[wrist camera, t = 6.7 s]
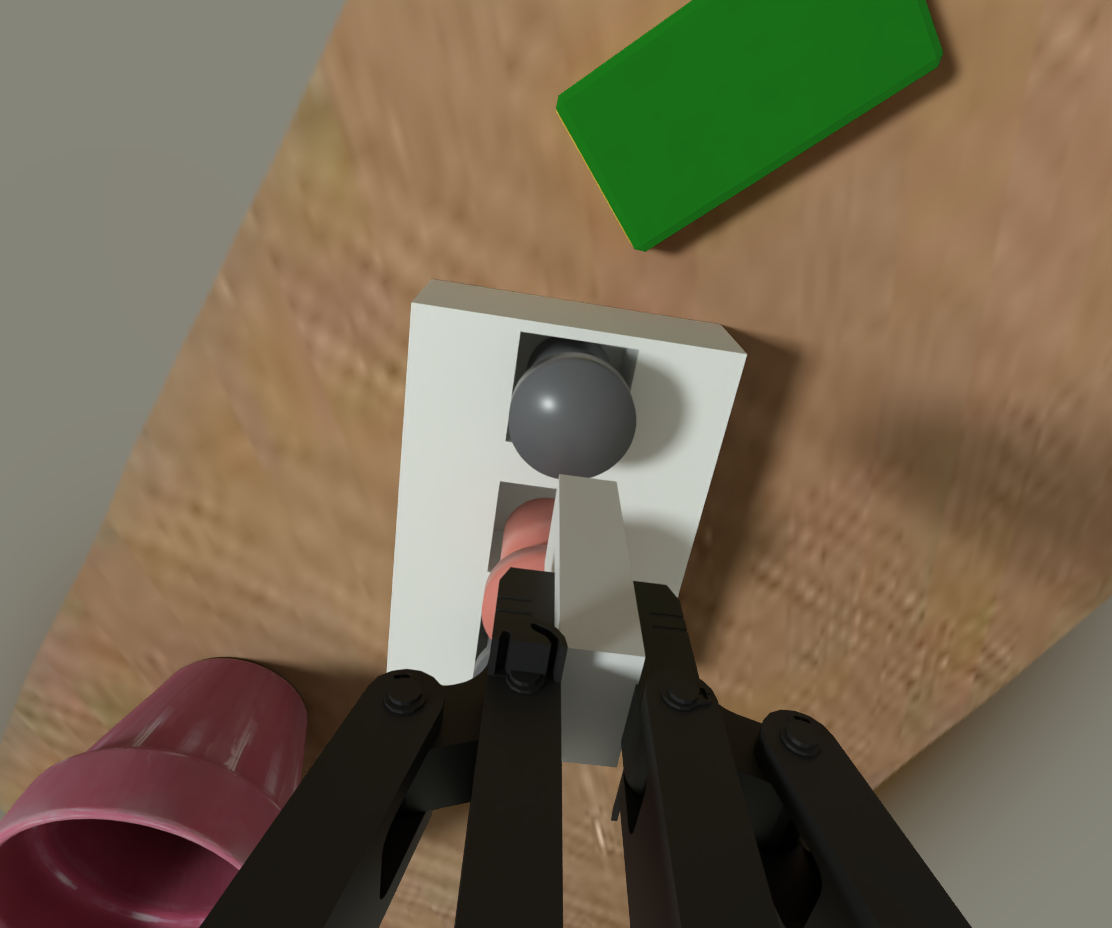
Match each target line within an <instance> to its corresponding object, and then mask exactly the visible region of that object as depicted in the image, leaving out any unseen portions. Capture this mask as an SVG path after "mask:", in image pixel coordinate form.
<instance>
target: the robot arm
mask: <svg viewBox="0 0 1112 928" xmlns="http://www.w3.org/2000/svg"><path fill="white" fill-rule="evenodd" d="M686 631H687V628H686V624H685V620H684V619H683V613H682V609H681V605H680V601H679V599H678V598H677V597H676V596H675V594H674V593H673V592H672V591H671V589H670V588H669V587H668V586H667V585H664V584H656V583H648V582H640V581H633V578H632V572H631V566H630V560H629V554H628V548H627V542H626V535H625V529H624V523H623V517H622V511H621V505H620V499H619V493H618V487H617V482H616V481H608V480H600V479H593V478H585V477H578V476H570V475H563V474H559V479H558V485H557V491H556V497H555V503H554V509H553V515H552V521H551V527H550V533H549V539H548V545H547V551H546V557H545V568H544V571H538V570H530V569H522V568H514V567H510V568H509V570H508V571H507V572H506V573H505V574H504V575H503V576H502V577H501V579H500V580H499V587H498V595H497V602H496V610H495V617H494V625H493V632H492V640H491V647H490V655H489V660H488V663H487V665H486V667H485V668H484V669H483V671H482V672H481V673H479V674H478V675H477V676H476V677H474V678H472V679H470V680H468V681H466V682H462V683H458V684H454V685H447V686H442V685H441V684H440V683H439V682H438V681H437V680H436V679H435V678H434V677H433V676H431V675H429V674H427V673H425V672H423V671H419V670H412V669H401V670H393V671H390V672H388V673H385V674H383V675H381V676H379V677H377V678H376V679H375V680H374V681H373V682H372V683H371V684H370V685H369V686H368V687H367V689H366V690H365V692H364V693H363V694H362V696H361V697H360V699H359V700H358V701H357V703H356V704H355V706H354V707H353V709H352V710H351V711H350V713H349V714H348V716H347V717H346V719H345V720H344V721H343V723H342V724H341V726H340V727H339V729H338V730H337V731H336V733H335V734H334V736H333V737H332V739H331V740H330V741H329V743H328V744H327V746H326V747H325V749H324V750H323V751H322V753H321V754H320V756H319V757H318V759H317V760H316V761H315V763H314V764H313V766H312V767H311V769H310V770H309V771H308V773H307V774H306V776H305V777H304V779H303V780H302V781H301V783H300V784H299V786H298V787H297V789H296V790H295V791H294V793H293V794H292V796H291V797H290V799H289V800H288V801H287V803H286V804H285V806H284V807H283V808H282V810H281V811H280V813H279V814H278V816H277V817H276V818H275V820H274V821H273V823H272V824H271V826H270V827H269V828H268V830H267V831H266V833H265V834H264V836H263V837H262V838H261V840H260V841H259V843H258V844H257V846H256V847H255V848H254V850H253V851H252V853H251V854H250V856H249V857H248V858H247V860H246V861H245V863H244V864H243V866H242V867H241V868H240V870H239V871H238V873H237V874H236V876H235V877H234V878H233V880H232V881H231V883H230V884H229V886H228V887H227V888H226V890H225V891H224V893H223V894H222V896H221V897H220V898H219V900H218V901H217V903H216V904H215V906H214V907H213V908H212V910H211V911H210V913H209V914H208V915H207V917H206V918H205V920H204V921H203V923H202V924H201V925H200V927H199V928H379V926H380V924H381V922H382V920H383V917H384V915H385V913H386V911H387V909H388V907H389V905H390V902H391V900H392V898H393V896H394V894H395V892H396V890H397V887H398V885H399V883H400V881H401V879H402V877H403V875H404V873H405V870H406V868H407V866H408V864H409V862H410V860H411V858H412V855H413V853H414V851H415V849H416V847H417V845H418V843H419V840H420V838H421V836H422V834H423V832H424V830H425V828H426V825H427V823H428V821H429V819H430V817H431V814H432V810H434V809H439V808H443V807H448V806H453V805H458V804H462V803H467V802H470V808H469V816H468V824H467V831H466V839H465V847H464V855H463V863H462V871H461V878H460V886H459V894H458V902H457V910H456V918H455V925H454V928H563V866H562V762H572V763H581V764H591V765H600V766H609V767H617V764H618V760H619V756H620V752H621V748H622V757H623V767H624V769H623V773H622V777H621V780H620V784H619V788H618V792H617V795H616V799H615V803H614V806H613V811H612V818H611V820H612V821H617V819H618V816H619V812H620V814H621V825H622V837H623V848H624V860H625V871H626V883H627V894H628V905H629V917H630V928H972V927H971V926H970V924H969V923H968V922H967V920H966V919H965V918H964V916H963V915H962V913H961V912H960V911H959V909H958V908H957V906H956V905H955V904H954V902H953V901H952V900H951V898H950V897H949V895H948V894H947V893H946V891H945V890H944V888H943V887H942V886H941V885H940V883H939V882H938V880H937V879H936V877H935V876H934V875H933V873H932V872H931V871H930V869H929V868H928V866H927V865H926V864H925V862H924V861H923V859H922V858H921V857H920V855H919V854H918V852H917V851H916V850H915V848H914V847H913V846H912V844H911V843H910V841H909V840H908V839H907V837H906V836H905V835H904V833H903V832H902V830H901V829H900V828H899V826H898V825H897V824H896V822H895V821H894V819H893V818H892V817H891V815H890V814H889V812H888V811H887V810H886V808H885V807H884V805H883V804H882V803H881V801H880V800H879V799H878V797H877V796H876V794H875V793H874V792H873V790H872V789H871V787H870V786H869V785H868V783H867V782H866V780H865V779H864V778H863V776H862V775H861V774H860V772H859V771H858V769H857V768H856V767H855V765H854V764H853V762H852V761H851V760H850V758H849V757H848V756H847V754H846V753H845V751H844V750H843V749H842V747H841V746H840V744H839V743H838V742H837V740H836V739H835V738H834V736H833V735H832V734H831V733H830V732H829V731H828V730H827V729H826V728H825V727H824V726H823V725H822V724H821V723H819V722H818V721H816V720H814V719H813V718H811V717H810V716H808V715H805V714H802V713H799V712H796V711H790V710H778V711H775V712H771V713H769V715H768V716H767V717H766V718H765V719H764V720H763V722H762V723H759V722H756V721H754V720H751V719H748V718H746V717H743V716H740V715H737V714H735V713H733V712H731V711H729V710H727V709H725V708H724V707H722V706H721V705H719V704H718V700H717V698H716V696H715V694H714V692H713V691H712V689H711V688H710V687H709V686H708V685H707V684H706V683H704V682H703V681H702V680H701V679H699V675H698V671H697V667H696V663H695V660H694V656H693V652H692V648H691V644H690V640H689V636H688V633H687V632H686Z"/></svg>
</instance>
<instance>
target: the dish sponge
mask: <svg viewBox="0 0 1112 928" xmlns="http://www.w3.org/2000/svg"><path fill="white" fill-rule="evenodd" d="M942 55H943V50H942V48H941V45H940V42H939V39H938V36H937V33H936V30H935V27H934V24H933V21H932V18H931V15H930V12H929V9H928V6H927V3H926V0H692V1H691V2H689V3H688V4H686V5H685V6H684V7H682V8H681V9H679V10H678V11H676V12H675V13H674V14H672V15H671V16H669V17H668V18H667V19H665V20H664V21H662V22H661V23H660V24H658V25H657V26H655V27H654V28H653V29H651V30H650V31H648V32H647V33H646V34H644V35H643V36H641V37H640V38H639V39H637V40H636V41H634V42H633V43H632V44H630V45H629V46H627V47H626V48H625V49H623V50H622V51H620V52H619V53H618V54H616V55H615V56H613V57H612V58H611V59H609V60H608V61H606V62H605V63H604V64H602V65H601V66H599V67H598V68H597V69H595V70H594V71H592V72H591V73H590V74H588V75H587V76H585V77H584V78H582V79H581V80H580V81H578V82H577V83H575V84H574V85H573V86H571V87H570V88H568V89H567V90H566V91H564V92H563V93H561V94H560V95H559V96H558V101H557V106H556V112H557V114H558V115H559V117H560V119H561V121H562V123H563V124H564V126H565V128H566V130H567V132H568V133H569V135H570V137H571V139H572V140H573V142H574V144H575V146H576V148H577V149H578V151H579V153H580V155H581V156H582V158H583V160H584V162H585V164H586V165H587V167H588V169H589V171H590V173H591V174H592V176H593V178H594V180H595V181H596V183H597V185H598V187H599V189H600V190H601V192H602V194H603V196H604V197H605V199H606V201H607V203H608V205H609V206H610V208H611V210H612V212H613V213H614V215H615V217H616V219H617V221H618V222H619V224H620V226H621V228H622V230H623V231H624V233H625V235H626V237H627V238H628V240H629V242H630V244H631V245H632V246H633V247H634V249H636V250H640V251H644V252H646V251H647V250H649V249H650V248H652V247H654V246H655V245H657V244H658V243H660V242H661V241H663V240H665V239H666V238H668V237H669V236H671V235H673V234H674V233H676V232H677V231H679V230H680V229H682V228H684V227H685V226H687V225H688V224H690V223H692V222H693V221H695V220H696V219H698V218H699V217H701V216H703V215H704V214H706V213H707V212H709V211H711V210H712V209H714V208H715V207H717V206H718V205H720V204H722V203H723V202H725V201H726V200H728V199H730V198H731V197H733V196H734V195H736V194H737V193H739V192H741V191H742V190H744V189H745V188H747V187H748V186H750V185H752V184H753V183H755V182H756V181H758V180H760V179H761V178H763V177H764V176H766V175H767V174H769V173H771V172H772V171H774V170H775V169H777V168H779V167H780V166H782V165H783V164H785V163H786V162H788V161H790V160H791V159H793V158H794V157H796V156H798V155H799V154H801V153H802V152H804V151H805V150H807V149H809V148H810V147H812V146H813V145H815V144H816V143H818V142H820V141H821V140H823V139H824V138H826V137H828V136H829V135H831V134H832V133H834V132H835V131H837V130H839V129H840V128H842V127H843V126H845V125H847V124H848V123H850V122H851V121H853V120H854V119H856V118H858V117H859V116H861V115H862V114H864V113H866V112H867V111H869V110H870V109H872V108H873V107H875V106H877V105H878V104H880V103H881V102H883V101H884V100H886V99H888V98H889V97H891V96H892V95H894V94H896V93H897V92H899V91H900V90H902V89H903V88H905V87H907V86H908V85H910V84H911V83H913V82H915V81H916V80H918V79H919V78H921V77H922V76H924V75H926V74H927V73H929V72H930V71H932V70H934V69H935V68H937V67H938V65H939V63H940V60H941V58H942Z"/></svg>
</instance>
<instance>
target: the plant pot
mask: <svg viewBox="0 0 1112 928" xmlns="http://www.w3.org/2000/svg"><path fill="white" fill-rule="evenodd" d="M307 724H308V721H307V712H306V708H305V705H304V703H303V701H302V699H301V697H300V696H299V694H298V693H297V692H296V690H295V689H294V688H293V687H292V686H291V685H290V684H289V683H288V682H287V681H286V680H284V679H283V678H282V677H280V676H279V675H277V674H276V673H274V672H272V671H271V670H269V669H267V668H265V667H262V666H260V665H257V664H254V663H251V662H247V661H243V660H237V659H228V658H214V659H206V660H201V661H198V662H194V663H192V664H189V665H187V666H185V667H183V668H181V669H180V670H178V671H177V672H176V673H174V674H173V675H172V676H171V677H170V678H169V679H168V680H167V681H166V682H165V683H163V684H162V685H161V686H160V687H159V688H158V689H157V690H156V691H155V692H154V693H152V694H151V695H150V696H149V697H148V698H147V699H145V700H144V701H143V702H142V703H141V704H140V705H138V706H137V707H136V708H135V709H134V710H133V711H132V712H130V713H129V714H128V715H127V716H126V717H125V718H123V719H122V720H121V721H120V722H119V723H118V724H117V725H115V726H114V727H113V728H112V729H111V730H110V731H109V732H108V733H106V734H105V735H104V736H103V737H102V738H101V739H100V740H98V741H97V742H96V743H95V744H94V745H93V746H92V747H91V748H89V749H88V750H87V751H86V752H84V753H81V754H78V755H75V756H72V757H69V758H67V759H65V760H63V761H60V762H58V763H56V764H55V765H53V766H51V767H49V768H48V769H47V770H45V771H44V772H43V773H42V774H41V775H39V776H38V777H37V778H36V779H35V780H34V781H33V782H32V783H31V784H30V785H29V787H28V788H27V789H26V790H25V791H24V793H23V794H22V795H21V796H20V797H19V799H18V800H17V801H16V802H15V804H14V805H13V806H12V808H11V809H10V810H9V811H8V813H7V814H6V815H5V817H4V818H3V819H2V820H1V822H0V928H199V927H200V925H201V924H202V923H203V921H204V920H205V918H206V917H207V915H208V914H209V913H210V911H211V910H212V908H213V907H214V906H215V904H216V903H217V901H218V900H219V898H220V897H221V896H222V894H223V893H224V891H225V890H226V888H227V887H228V886H229V884H230V883H231V881H232V880H233V878H234V877H235V876H236V874H237V873H238V871H239V870H240V868H241V867H242V866H243V864H244V863H245V861H246V860H247V858H248V857H249V856H250V854H251V853H252V851H253V850H254V848H255V847H256V846H257V844H258V843H259V841H260V840H261V838H262V837H263V836H264V834H265V833H266V831H267V830H268V828H269V827H270V826H271V824H272V823H273V821H274V820H275V818H276V817H277V816H278V814H279V813H280V811H281V810H282V808H283V807H284V806H285V804H286V803H287V801H288V800H289V799H290V797H291V796H292V794H293V793H294V791H295V790H296V789H297V787H298V786H299V784H300V783H301V777H302V768H303V760H304V750H305V741H306V732H307Z"/></svg>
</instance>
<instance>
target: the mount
mask: <svg viewBox="0 0 1112 928" xmlns="http://www.w3.org/2000/svg"><path fill="white" fill-rule="evenodd" d="M552 336H554V337H560V338H567V339H573V340H580V341H586V342H593V343H598V344H599V345H600V346H601V347H602V349H603V350H604V351H605V353H606V354H607V356H608V359H609V361H610V365H611V366H613V367H614V368H615V369H616V370H617V371H618V372H619V373H620V375H621V376H622V377H623V379H624V380H625V382H626V383H627V385H628V388H629V390H630V393H631V396H632V399H633V402H634V406H635V410H636V430H635V435H634V438H633V441H632V443H631V445H630V447H629V449H628V450H627V452H626V454H625V455H624V456H623V457H622V459H621V460H620V461H619V462H618V463H616V464H615V465H614V466H613V467H611V468H610V469H609V470H607V471H605V472H604V473H602V474H599V475H597V476H595V477H591V478H593V479H600V480H608V481H616V482H617V487H618V493H619V499H620V505H621V511H622V517H623V523H624V529H625V535H626V542H627V548H628V554H629V560H630V566H631V572H632V578H633V581H640V582H648V583H656V584H664V585H667V586H668V587H669V588H670V589H671V591H672V592H673V593H674V594H675V596H676V597H677V598H678V594H679V591H680V588H681V584H682V581H683V577H684V574H685V570H686V567H687V563H688V560H689V556H690V553H691V549H692V546H693V542H694V539H695V535H696V532H697V528H698V525H699V521H700V518H701V514H702V511H703V507H704V504H705V500H706V497H707V493H708V490H709V486H710V483H711V479H712V476H713V472H714V469H715V465H716V462H717V458H718V455H719V451H720V448H721V444H722V441H723V437H724V434H725V430H726V427H727V423H728V420H729V416H730V413H731V409H732V406H733V402H734V399H735V395H736V392H737V388H738V385H739V381H740V378H741V374H742V371H743V367H744V364H745V360H746V357H747V354H746V352H745V351H744V350H743V349H742V348H741V347H740V346H739V345H738V343H737V342H736V341H735V340H734V339H733V338H732V337H731V336H730V334H729V333H728V332H727V331H726V330H725V329H724V328H723V327H722V325H721V324H715V323H708V322H702V321H696V320H689V319H683V318H676V317H670V316H664V315H657V314H651V313H645V312H638V311H632V310H626V309H619V308H613V307H607V306H600V305H594V304H588V303H581V302H575V301H568V300H562V299H556V298H549V297H543V296H537V295H530V294H524V293H518V292H511V291H505V290H499V289H492V288H486V287H480V286H473V285H467V284H460V283H454V282H448V281H441V280H435V279H430V281H429V282H428V283H427V284H426V286H425V287H424V288H423V289H422V290H421V292H420V293H419V294H418V295H417V296H416V298H415V299H414V300H413V301H412V304H411V319H410V333H409V348H408V363H407V378H406V393H405V408H404V422H403V437H402V452H401V467H400V482H399V496H398V511H397V526H396V541H395V556H394V570H393V585H392V600H391V615H390V630H389V644H388V659H387V673H388V672H390V671H393V670H401V669H412V670H419V671H423V672H425V673H427V674H429V675H431V676H433V677H434V678H435V679H436V680H437V681H438V682H439V683H440V684H441V685H454V684H458V683H462V682H466V681H468V680H470V679H472V678H473V671H474V666H475V662H476V660H477V658H478V656H479V655H480V653H481V652H482V651H483V650H484V649H485V648H486V647H487V642H488V634H487V633H486V630H485V628H484V625H483V621H482V603H483V596H484V589H485V585H486V581H487V579H488V576H489V574H490V573H491V571H492V569H493V568H494V567H495V566H496V564H497V563H498V562H500V559H501V550H502V542H503V533H504V527H505V524H506V521H507V519H508V517H509V516H510V514H511V513H512V512H513V511H514V510H515V509H516V508H517V507H518V506H520V505H521V504H523V503H525V502H527V501H530V500H533V499H538V498H554V499H555V497H556V491H557V485H558V479H555V478H552V477H549V476H546V475H544V474H542V473H540V472H538V471H536V470H535V469H533V468H532V467H531V466H529V465H528V464H527V463H526V462H525V461H524V460H523V459H522V458H521V456H520V455H519V454H518V452H517V451H516V449H515V447H514V445H513V443H512V440H511V437H510V433H509V425H508V419H509V410H510V403H511V398H512V394H513V392H514V389H515V387H516V385H517V383H518V381H519V380H520V379H521V377H522V376H523V375H524V373H525V372H526V368H527V364H528V361H529V358H530V356H531V354H532V353H533V351H534V350H535V348H536V347H537V346H538V345H539V344H540V343H542V342H543V341H544V340H546V339H548V338H550V337H552Z"/></svg>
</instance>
